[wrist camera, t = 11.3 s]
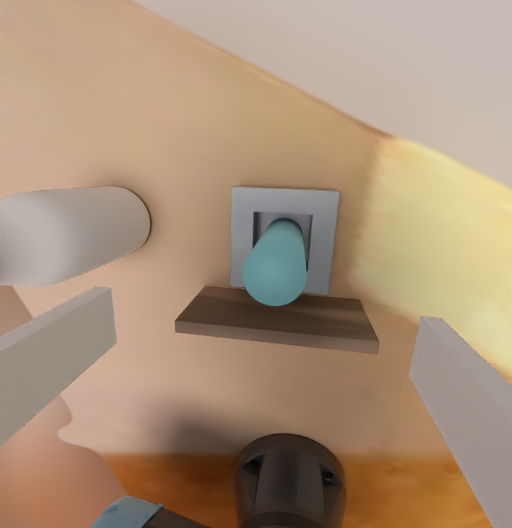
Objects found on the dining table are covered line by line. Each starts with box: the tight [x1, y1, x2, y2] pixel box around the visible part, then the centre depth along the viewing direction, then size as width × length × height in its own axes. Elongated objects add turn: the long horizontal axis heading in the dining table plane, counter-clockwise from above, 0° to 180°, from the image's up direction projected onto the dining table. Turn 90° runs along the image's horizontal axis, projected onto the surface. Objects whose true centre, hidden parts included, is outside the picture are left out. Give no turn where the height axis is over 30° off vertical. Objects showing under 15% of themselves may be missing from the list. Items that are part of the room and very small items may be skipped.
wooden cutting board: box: [175, 287, 379, 354], centre depth 31 cm, size 1×18×9 cm, turn 88°
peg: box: [242, 218, 307, 306], centre depth 25 cm, size 4×4×14 cm
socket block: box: [230, 186, 340, 294], centre depth 31 cm, size 10×10×4 cm
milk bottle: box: [0, 187, 150, 286], centre depth 26 cm, size 8×8×20 cm
